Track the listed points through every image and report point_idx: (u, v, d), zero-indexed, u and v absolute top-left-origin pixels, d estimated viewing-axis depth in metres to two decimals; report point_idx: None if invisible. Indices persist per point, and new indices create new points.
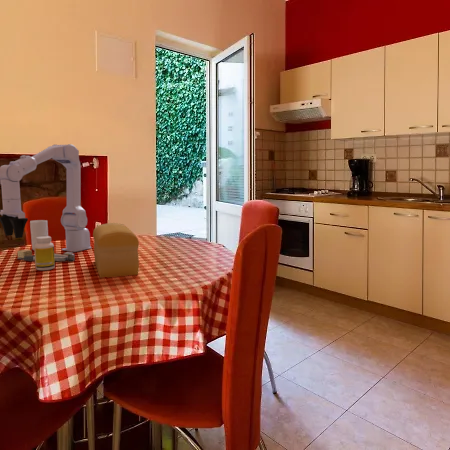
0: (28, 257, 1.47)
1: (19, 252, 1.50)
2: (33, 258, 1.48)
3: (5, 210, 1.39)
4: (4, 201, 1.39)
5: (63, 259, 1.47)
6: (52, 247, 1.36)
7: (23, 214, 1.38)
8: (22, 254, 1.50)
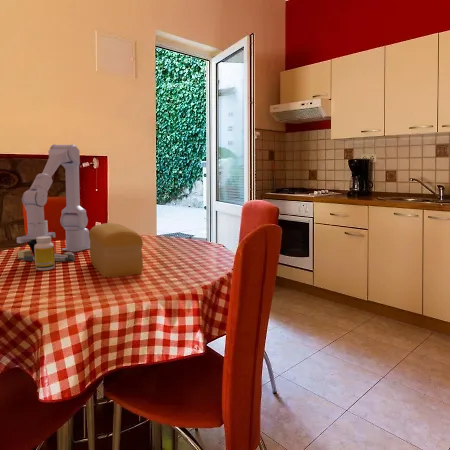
0: (28, 257, 1.47)
1: (19, 252, 1.50)
2: (33, 258, 1.48)
3: None
4: None
5: (63, 259, 1.47)
6: (52, 247, 1.36)
7: (19, 239, 1.39)
8: (22, 254, 1.50)
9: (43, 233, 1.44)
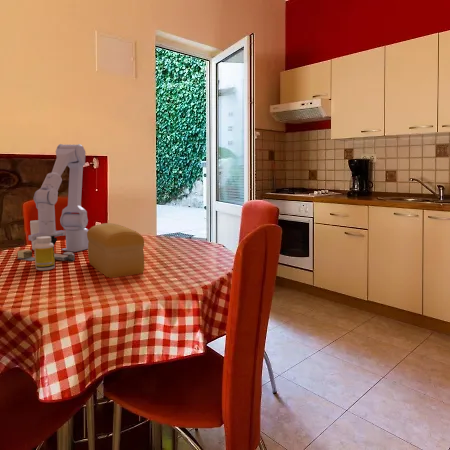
0: None
1: (19, 252, 1.50)
2: None
3: None
4: None
5: (63, 258, 1.48)
6: (52, 247, 1.36)
7: (31, 237, 1.43)
8: (22, 254, 1.50)
9: (54, 231, 1.48)
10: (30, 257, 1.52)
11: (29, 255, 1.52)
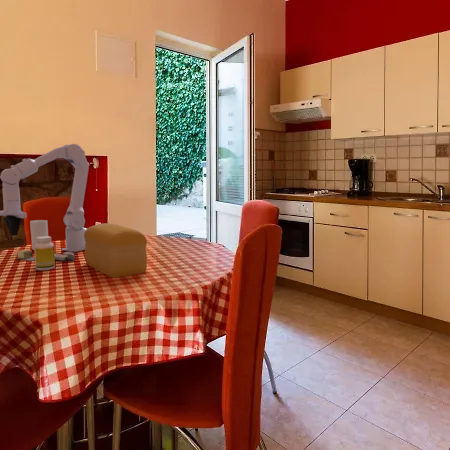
0: None
1: (19, 252, 1.50)
2: None
3: (7, 211, 1.49)
4: (6, 203, 1.49)
5: (63, 258, 1.48)
6: (52, 247, 1.36)
7: (25, 214, 1.49)
8: (22, 254, 1.50)
9: None
10: (30, 257, 1.52)
11: (29, 255, 1.52)
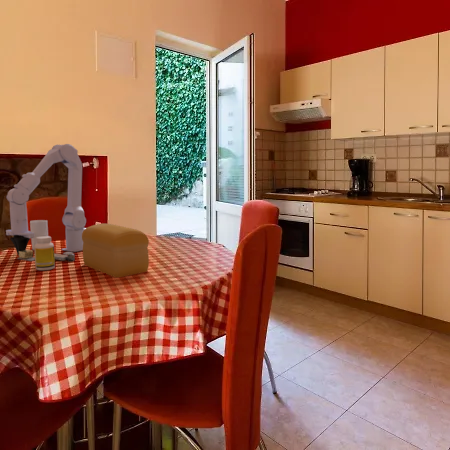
0: None
1: (20, 252, 1.50)
2: None
3: (14, 231, 1.49)
4: (13, 223, 1.48)
5: (63, 258, 1.48)
6: (52, 247, 1.36)
7: (33, 234, 1.49)
8: (24, 254, 1.49)
9: None
10: (30, 257, 1.52)
11: (30, 255, 1.51)
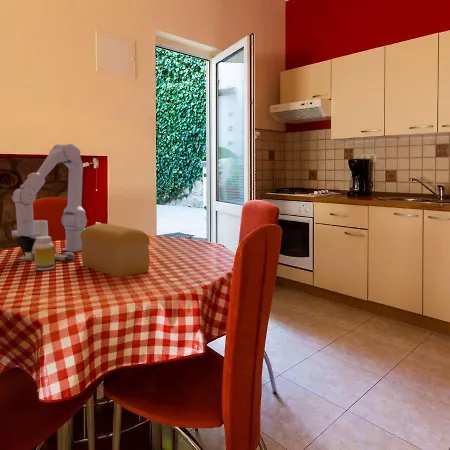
0: None
1: (27, 253, 1.48)
2: None
3: (20, 231, 1.47)
4: (19, 223, 1.47)
5: (63, 258, 1.48)
6: (52, 247, 1.36)
7: (39, 235, 1.47)
8: (30, 255, 1.48)
9: None
10: None
11: None
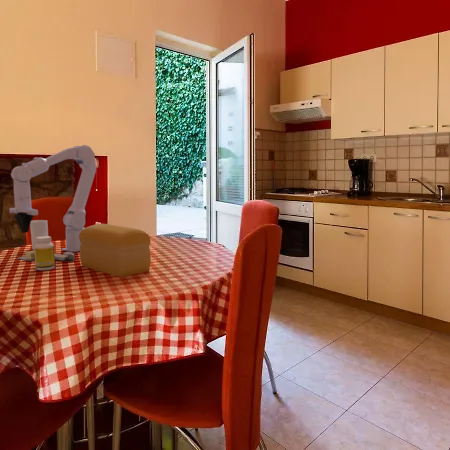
0: None
1: (27, 253, 1.48)
2: None
3: (18, 208, 1.51)
4: (17, 200, 1.50)
5: (63, 258, 1.48)
6: (52, 247, 1.36)
7: (36, 211, 1.51)
8: (30, 255, 1.48)
9: None
10: None
11: None
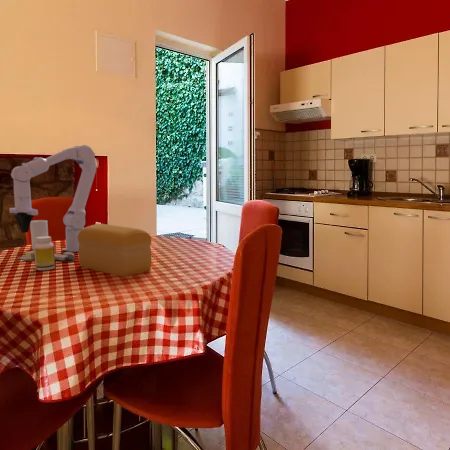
0: None
1: (27, 253, 1.48)
2: None
3: (18, 208, 1.51)
4: (17, 200, 1.50)
5: (63, 258, 1.48)
6: (52, 247, 1.36)
7: (36, 211, 1.51)
8: (30, 255, 1.48)
9: None
10: None
11: None
